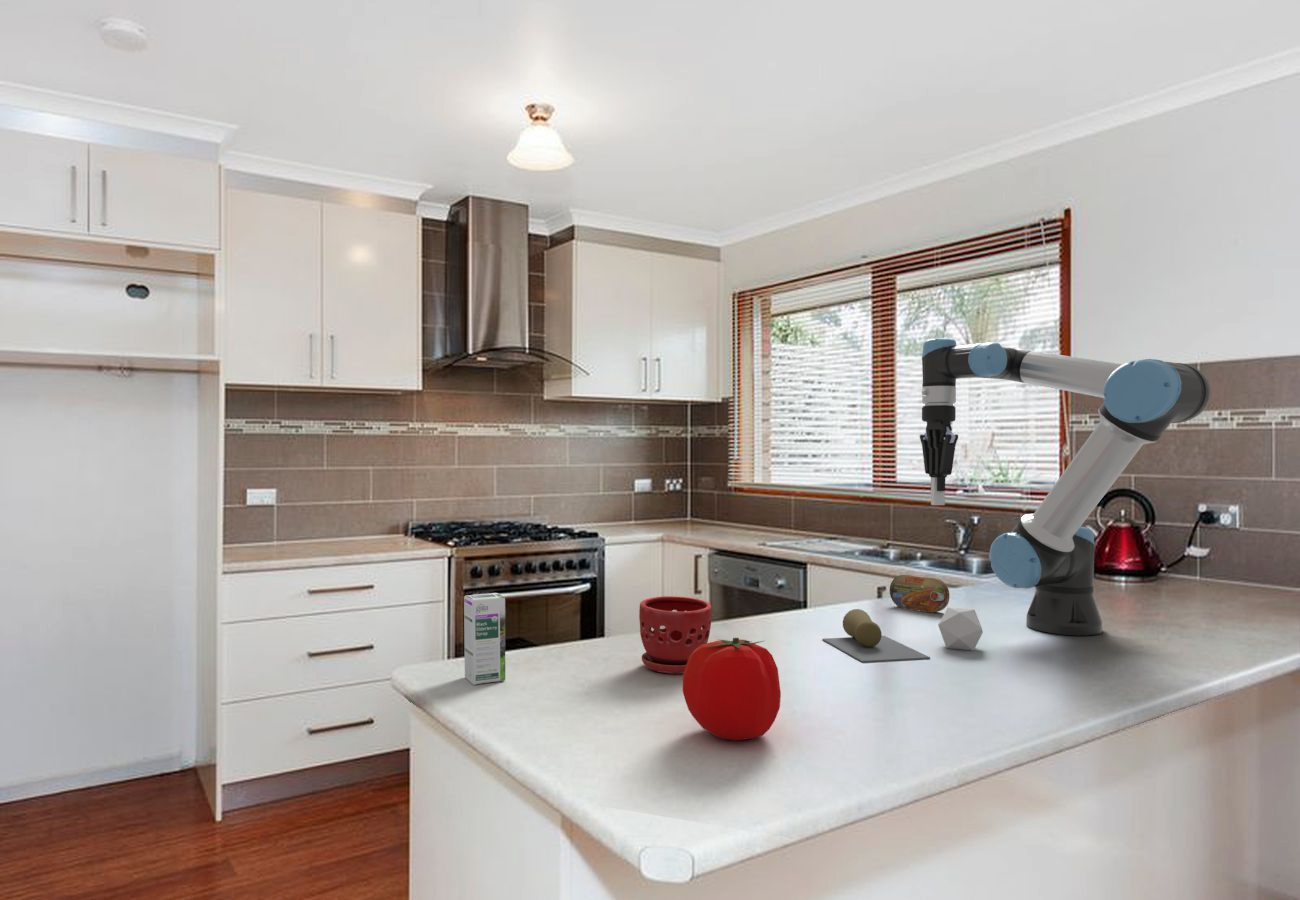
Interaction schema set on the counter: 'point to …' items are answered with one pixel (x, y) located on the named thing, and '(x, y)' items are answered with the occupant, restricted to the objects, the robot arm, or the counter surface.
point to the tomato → (732, 688)
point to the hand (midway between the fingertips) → (937, 504)
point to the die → (960, 628)
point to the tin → (919, 593)
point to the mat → (876, 650)
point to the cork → (862, 628)
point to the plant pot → (673, 631)
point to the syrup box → (484, 638)
